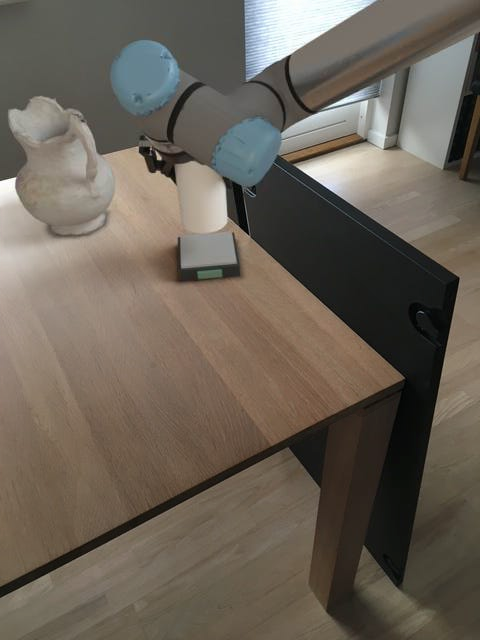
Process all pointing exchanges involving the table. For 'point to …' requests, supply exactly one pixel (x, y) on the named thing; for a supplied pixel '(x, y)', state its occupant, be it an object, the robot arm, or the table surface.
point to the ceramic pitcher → (61, 168)
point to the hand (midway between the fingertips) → (205, 180)
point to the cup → (201, 197)
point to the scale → (207, 256)
